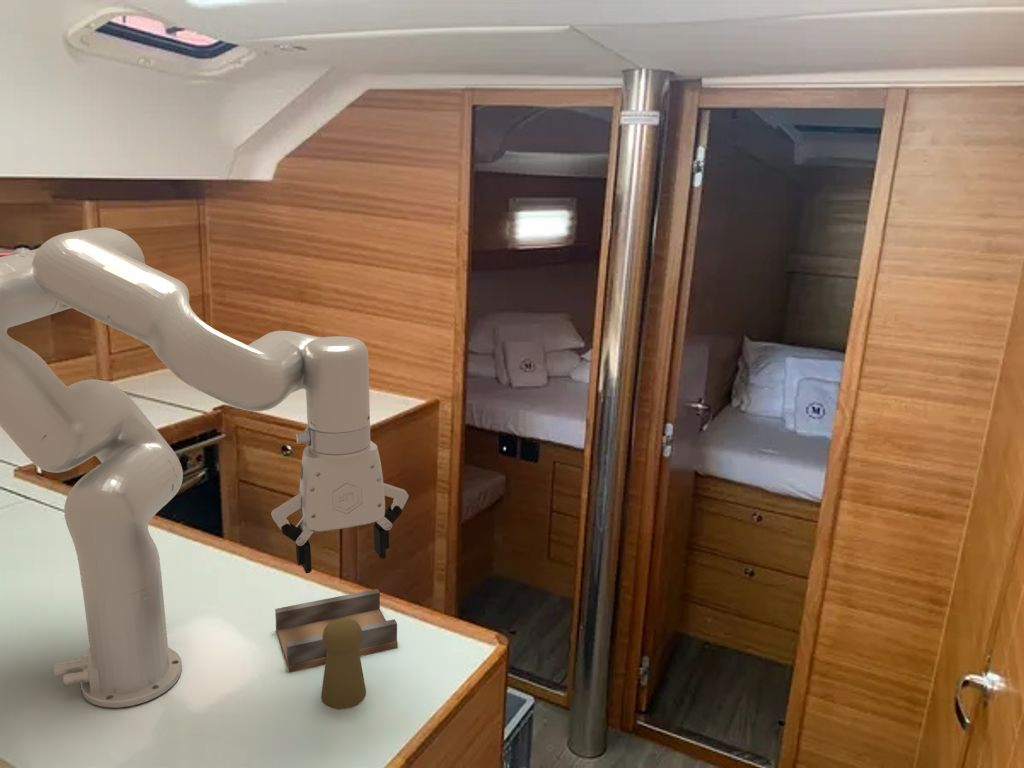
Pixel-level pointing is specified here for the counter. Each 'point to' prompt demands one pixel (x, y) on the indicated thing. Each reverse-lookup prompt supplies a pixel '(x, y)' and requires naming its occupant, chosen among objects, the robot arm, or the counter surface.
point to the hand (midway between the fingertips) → (343, 561)
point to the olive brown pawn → (343, 665)
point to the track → (308, 621)
